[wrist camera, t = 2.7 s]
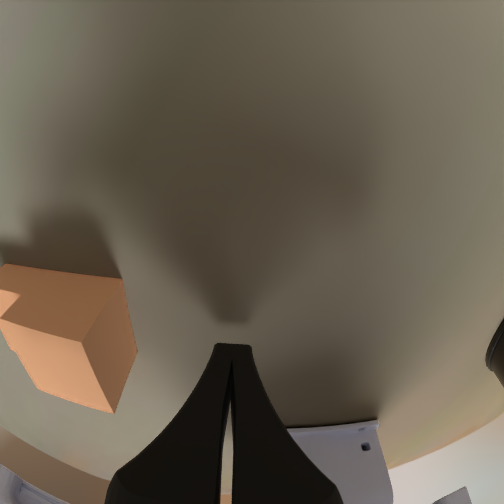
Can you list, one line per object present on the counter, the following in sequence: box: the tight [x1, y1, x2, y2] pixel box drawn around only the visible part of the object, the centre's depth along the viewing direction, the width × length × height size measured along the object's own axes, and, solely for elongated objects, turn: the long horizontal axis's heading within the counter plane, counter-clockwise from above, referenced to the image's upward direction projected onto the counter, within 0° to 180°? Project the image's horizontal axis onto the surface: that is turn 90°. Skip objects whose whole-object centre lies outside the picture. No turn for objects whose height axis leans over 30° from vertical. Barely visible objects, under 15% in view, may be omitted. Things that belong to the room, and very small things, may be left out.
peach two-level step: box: [0, 263, 138, 414], centre depth 11 cm, size 8×4×4 cm, turn 85°
